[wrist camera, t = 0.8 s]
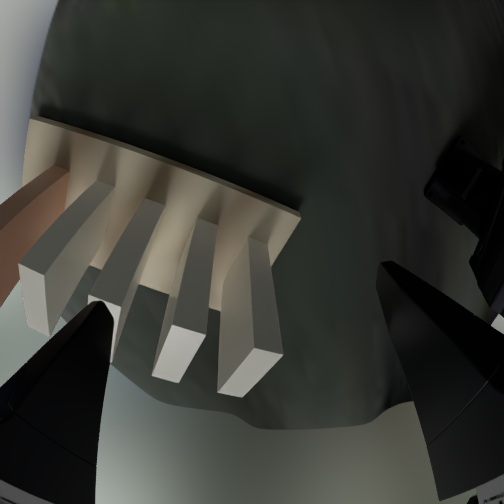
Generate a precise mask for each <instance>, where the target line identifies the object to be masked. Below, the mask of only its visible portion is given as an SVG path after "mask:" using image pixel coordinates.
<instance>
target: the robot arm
mask: <svg viewBox="0 0 504 504" xmlns="http://www.w3.org/2000/svg"><path fill="white" fill-rule="evenodd" d="M461 140H462V142H461ZM460 142H461V143H460ZM502 166H503V168H502V171H500V170H498V169H497V168H495V167H494V166H492V165H490V164H489V163H487V162H486V161H485V160H484V159H483V157H482V156H481V155H480V154H479V153H478V152H477V150H476V149H475V148H474V147H473V146H472V145H471V144H470V143H469V141H468V140H467V139H466V138H465V137H463V136H461V135H459V136H457V138H456V140H455V141H454V143H453V145H452V146H451V148H450V150H449V152H448V153H447V155H446V157H445V158H444V160H443V162H442V163H441V165H440V167H439V168H438V170H437V171H436V173H435V175H434V176H433V178H432V179H431V181H430V183H429V184H428V186H427V187H426V189H425V191H424V196H425V197H426V198H427V199H428V200H430V201H431V202H432V203H434V204H435V205H436V206H437V207H439V208H440V209H441V210H442V211H444V212H445V213H446V214H447V215H448V216H450V217H451V218H452V219H453V220H454V221H456V222H457V223H458V224H459V225H463V224H464V225H465V226H466V227H467V228H468V229H469V230H470V231H471V232H472V233H473V234H475V235H476V236H477V237H478V238H479V241H478V244H477V246H476V249H475V251H474V254H473V256H471V258H470V260H469V264H470V266H471V268H472V270H473V272H474V275H475V277H476V279H477V284H478V287H479V289H480V290H481V292H482V294H483V296H484V298H485V300H486V302H487V303H488V304H489V307H490V308H491V309H493V310H494V311H496V312H497V313H499V314H500V315H501V316H502V317H504V159H503V163H502ZM429 192H431V193H430V194H429ZM376 289H377V293H378V296H379V299H380V303H381V306H382V310H383V313H384V317H385V321H386V324H387V328H388V331H389V334H390V337H391V339H392V342H393V344H394V347H395V350H396V352H397V355H398V358H399V360H400V363H401V366H402V369H403V372H404V374H405V377H406V380H407V383H408V386H409V389H410V392H411V395H412V398H413V401H414V404H415V408H416V411H417V414H418V417H419V420H420V424H421V428H422V431H423V435H424V438H425V442H426V445H427V450H428V454H429V457H430V462H431V466H432V470H433V474H434V479H435V484H436V488H437V493H438V498H439V501H442V500H445V499H448V498H451V497H453V496H456V495H459V494H461V493H464V492H466V491H469V490H471V489H474V488H476V492H477V494H476V495H474V496H472V497H471V498H470V499H469V501H468V503H467V504H504V334H502V333H501V332H499V331H498V330H496V329H494V328H493V327H492V326H490V325H489V324H487V323H486V322H484V321H483V320H482V319H480V318H479V317H477V316H474V314H473V313H472V312H470V311H469V310H467V309H466V308H464V307H463V306H461V305H460V304H458V303H457V302H456V301H454V300H453V299H451V298H450V297H448V296H447V295H445V294H444V293H442V292H441V291H439V290H438V289H436V288H434V287H433V286H431V285H430V284H428V283H427V282H425V281H424V280H422V279H421V278H419V277H417V276H416V275H414V274H413V273H411V272H409V271H408V270H406V269H405V268H403V267H401V266H400V265H398V264H397V263H395V262H393V261H385V262H381V263H380V264H379V266H378V272H377V280H376ZM113 331H114V318H113V316H112V314H111V312H110V311H109V309H108V308H107V306H106V304H105V303H104V302H103V301H101V300H99V301H92V302H91V303H89V304H88V305H87V306H86V307H85V308H84V309H83V310H81V311H80V312H79V313H78V314H77V315H76V316H75V317H74V318H73V319H71V320H70V321H69V322H68V323H67V324H66V325H65V326H64V327H63V328H62V329H61V330H60V331H59V332H58V333H56V334H55V335H54V336H53V337H52V338H51V339H50V340H49V341H48V342H47V343H46V344H45V345H44V346H43V347H41V349H40V350H38V351H37V353H35V354H34V355H33V357H31V358H30V359H29V360H28V361H27V363H25V364H24V365H23V366H22V367H21V368H20V369H19V370H18V371H17V372H16V373H15V374H14V375H13V376H12V377H11V378H10V379H9V380H8V381H7V382H6V383H5V384H3V385H2V386H1V387H0V504H95V486H96V465H97V452H98V441H99V432H100V423H101V415H102V408H103V401H104V395H105V388H106V382H107V377H108V371H109V365H110V358H111V349H112V339H113Z"/></svg>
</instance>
